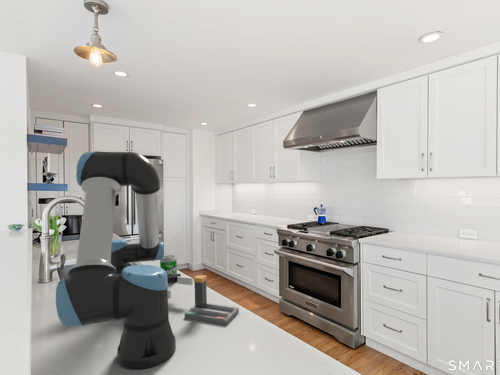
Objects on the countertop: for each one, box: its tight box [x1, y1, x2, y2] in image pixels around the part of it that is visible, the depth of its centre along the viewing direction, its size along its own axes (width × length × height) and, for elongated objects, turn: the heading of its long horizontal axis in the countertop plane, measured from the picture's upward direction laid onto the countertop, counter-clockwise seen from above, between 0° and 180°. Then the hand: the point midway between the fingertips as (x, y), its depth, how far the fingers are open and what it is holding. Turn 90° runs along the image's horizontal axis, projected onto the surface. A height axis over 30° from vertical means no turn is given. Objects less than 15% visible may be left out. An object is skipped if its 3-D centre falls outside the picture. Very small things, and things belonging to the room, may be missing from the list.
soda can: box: [159, 254, 178, 285], centre depth 137 cm, size 8×8×12 cm
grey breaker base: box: [184, 302, 240, 326], centre depth 102 cm, size 10×16×3 cm, turn 69°
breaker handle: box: [193, 274, 208, 309], centre depth 104 cm, size 3×3×11 cm
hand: (181, 287), depth 107 cm, fingers open, 13 cm apart
